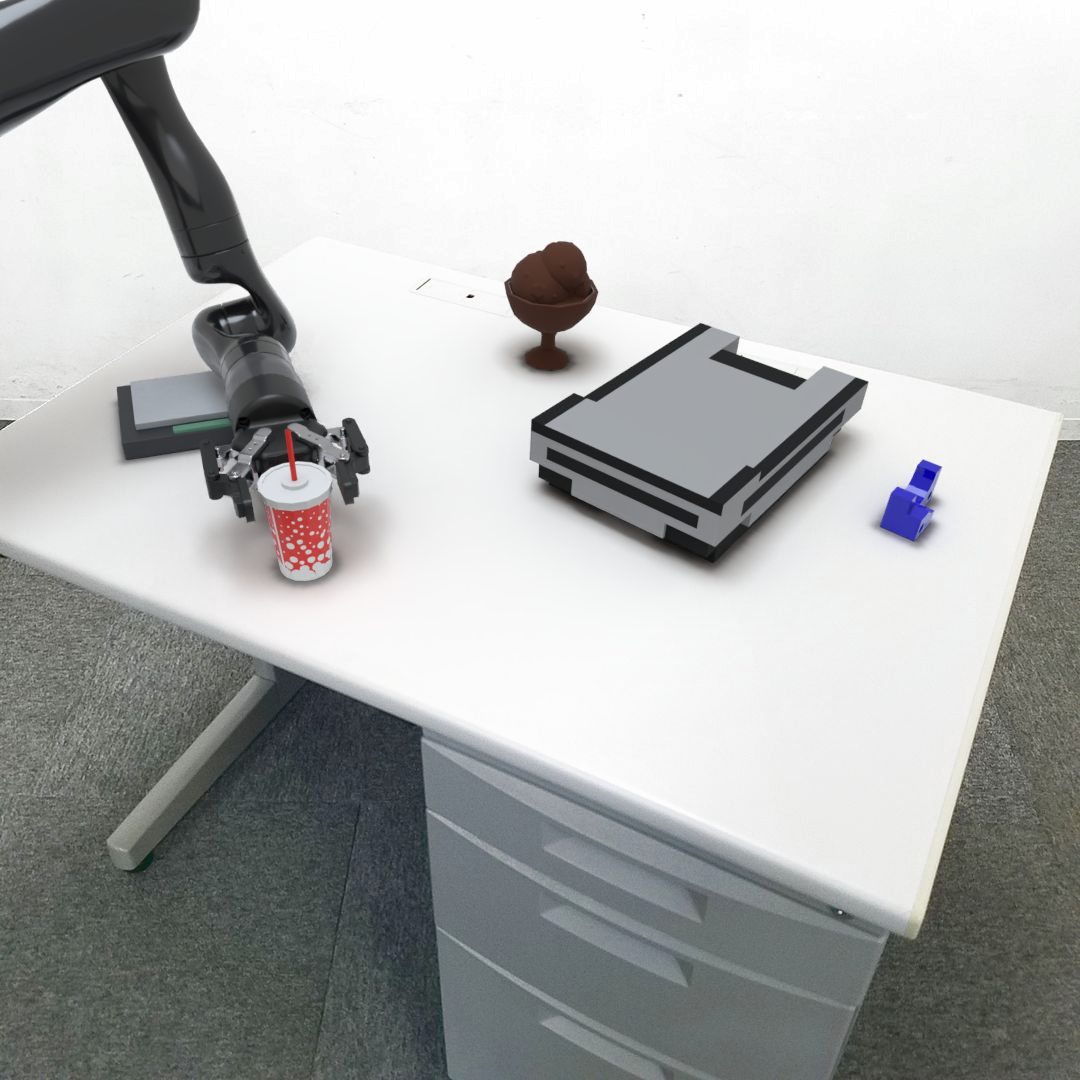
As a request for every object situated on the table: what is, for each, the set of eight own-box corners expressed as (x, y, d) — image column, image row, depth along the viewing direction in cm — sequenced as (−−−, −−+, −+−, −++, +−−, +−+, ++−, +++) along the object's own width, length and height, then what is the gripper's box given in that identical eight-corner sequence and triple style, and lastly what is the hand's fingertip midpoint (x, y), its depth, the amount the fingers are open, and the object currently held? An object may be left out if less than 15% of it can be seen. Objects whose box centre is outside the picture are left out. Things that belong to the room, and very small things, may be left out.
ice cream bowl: (580, 337, 123) (589, 221, 114) (599, 379, 115) (610, 258, 105) (498, 340, 122) (500, 223, 112) (511, 383, 113) (514, 260, 104)
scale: (126, 460, 97) (119, 436, 95) (120, 402, 106) (114, 379, 104) (286, 435, 102) (283, 412, 100) (268, 382, 111) (265, 360, 109)
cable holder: (914, 541, 92) (926, 507, 90) (879, 526, 94) (890, 492, 92) (944, 505, 97) (957, 472, 95) (911, 491, 99) (922, 459, 97)
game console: (852, 437, 107) (871, 371, 102) (708, 578, 87) (723, 504, 81) (692, 376, 117) (702, 313, 111) (528, 490, 96) (531, 419, 91)
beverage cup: (355, 562, 86) (342, 428, 77) (302, 596, 82) (282, 459, 74) (309, 534, 89) (292, 402, 80) (256, 566, 85) (231, 431, 76)
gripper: (182, 383, 86) (202, 482, 75) (340, 361, 91) (383, 452, 79) (197, 453, 91) (218, 557, 79) (347, 429, 96) (388, 524, 84)
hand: (300, 504), depth 79 cm, fingers open, 7 cm apart
